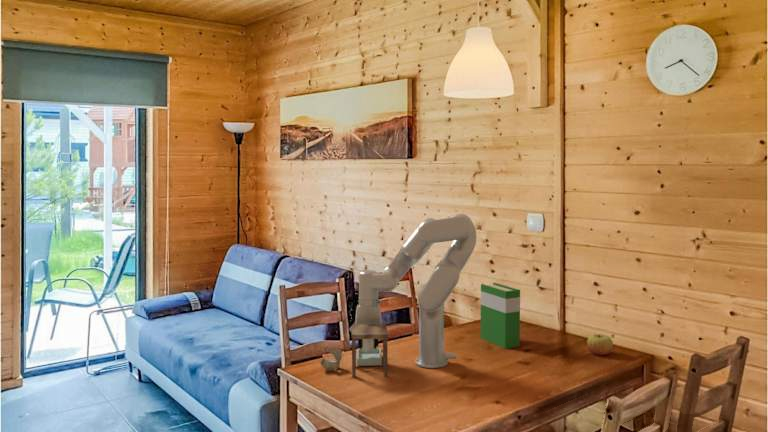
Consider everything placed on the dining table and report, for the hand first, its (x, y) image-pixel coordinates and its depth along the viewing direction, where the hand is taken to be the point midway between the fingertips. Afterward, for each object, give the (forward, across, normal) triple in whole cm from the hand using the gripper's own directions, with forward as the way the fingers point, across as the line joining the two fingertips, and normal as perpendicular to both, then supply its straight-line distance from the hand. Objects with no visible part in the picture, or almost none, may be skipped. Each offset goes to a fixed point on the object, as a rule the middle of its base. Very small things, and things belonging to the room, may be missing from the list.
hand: (368, 347), depth 242 cm
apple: (+4, -94, -4) cm, 94 cm away
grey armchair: (+5, 0, -5) cm, 7 cm away
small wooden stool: (+5, 0, +12) cm, 13 cm away
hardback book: (+5, -57, -22) cm, 61 cm away
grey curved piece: (+6, +13, +10) cm, 18 cm away
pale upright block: (+1, 0, 0) cm, 1 cm away
